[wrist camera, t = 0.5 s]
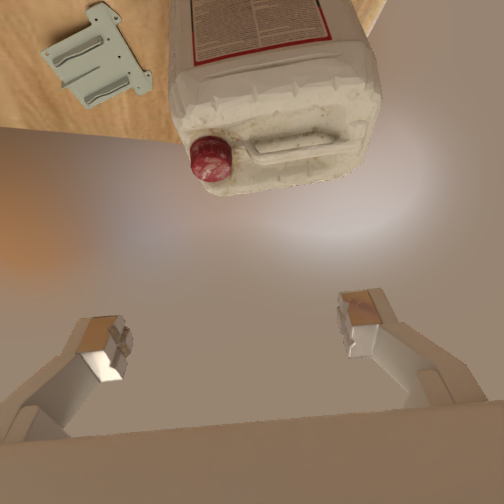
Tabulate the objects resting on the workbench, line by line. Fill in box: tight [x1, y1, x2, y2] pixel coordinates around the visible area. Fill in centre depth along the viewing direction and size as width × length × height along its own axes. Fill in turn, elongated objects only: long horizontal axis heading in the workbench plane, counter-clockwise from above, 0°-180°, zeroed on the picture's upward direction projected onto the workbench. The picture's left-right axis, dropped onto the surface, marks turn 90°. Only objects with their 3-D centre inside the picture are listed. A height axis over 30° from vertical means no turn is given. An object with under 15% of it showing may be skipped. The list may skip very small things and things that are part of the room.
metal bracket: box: [40, 2, 152, 109], centre depth 55 cm, size 14×6×15 cm
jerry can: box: [168, 0, 382, 197], centre depth 46 cm, size 24×19×30 cm
